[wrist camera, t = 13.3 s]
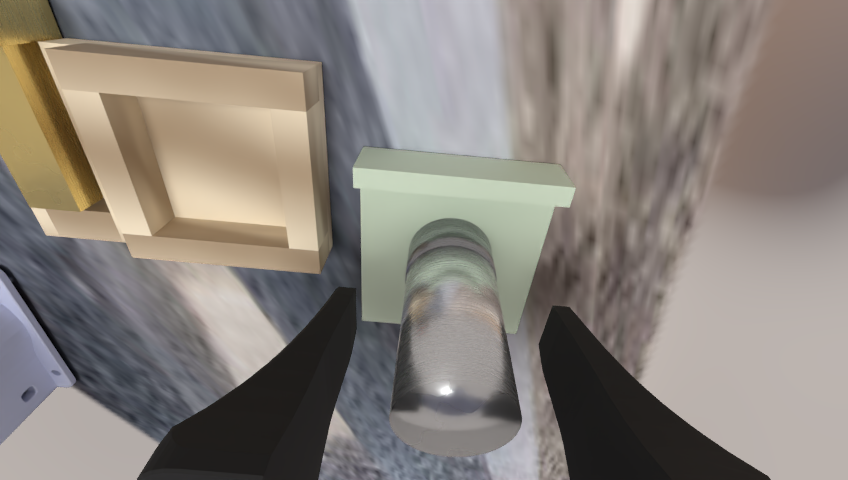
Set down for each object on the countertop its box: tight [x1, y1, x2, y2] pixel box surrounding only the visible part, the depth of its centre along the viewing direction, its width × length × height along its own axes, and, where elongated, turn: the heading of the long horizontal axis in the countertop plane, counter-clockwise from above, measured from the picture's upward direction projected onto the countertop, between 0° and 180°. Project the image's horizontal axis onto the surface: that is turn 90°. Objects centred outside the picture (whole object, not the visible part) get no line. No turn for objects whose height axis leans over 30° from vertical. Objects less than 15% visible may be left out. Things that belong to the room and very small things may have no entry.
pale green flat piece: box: [353, 147, 576, 334], centre depth 17 cm, size 9×8×2 cm
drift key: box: [0, 0, 104, 212], centre depth 13 cm, size 8×2×3 cm, turn 175°
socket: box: [31, 38, 333, 274], centre depth 15 cm, size 8×12×2 cm, turn 85°
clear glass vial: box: [389, 218, 522, 457], centre depth 14 cm, size 4×4×8 cm
